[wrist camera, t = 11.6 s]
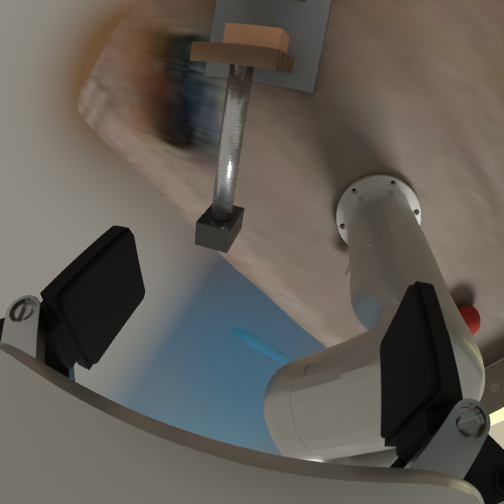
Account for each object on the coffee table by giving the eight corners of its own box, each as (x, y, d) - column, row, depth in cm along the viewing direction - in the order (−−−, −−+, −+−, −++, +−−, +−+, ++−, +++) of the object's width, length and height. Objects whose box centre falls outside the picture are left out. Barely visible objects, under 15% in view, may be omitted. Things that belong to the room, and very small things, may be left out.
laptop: (468, 396, 57) (474, 436, 47) (458, 380, 55) (465, 424, 44) (522, 367, 48) (533, 406, 37) (518, 346, 45) (532, 390, 34)
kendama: (399, 344, 54) (480, 323, 43) (396, 366, 49) (484, 345, 38) (389, 317, 52) (475, 291, 41) (385, 338, 47) (480, 312, 37)
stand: (291, 73, 31) (275, 70, 22) (228, 63, 32) (189, 60, 23) (307, -11, 24) (296, -44, 15) (242, -18, 25) (209, -47, 16)
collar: (286, 53, 30) (278, 49, 25) (238, 47, 30) (222, 42, 25) (289, 36, 28) (282, 28, 23) (241, 30, 29) (225, 22, 24)
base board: (313, 92, 33) (312, 93, 32) (208, 75, 34) (204, 75, 33) (335, -22, 23) (335, -25, 22) (227, -33, 25) (223, -36, 23)
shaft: (241, 228, 39) (226, 253, 34) (212, 220, 40) (195, 244, 35) (267, 68, 27) (254, 66, 23) (232, 64, 28) (212, 62, 23)
